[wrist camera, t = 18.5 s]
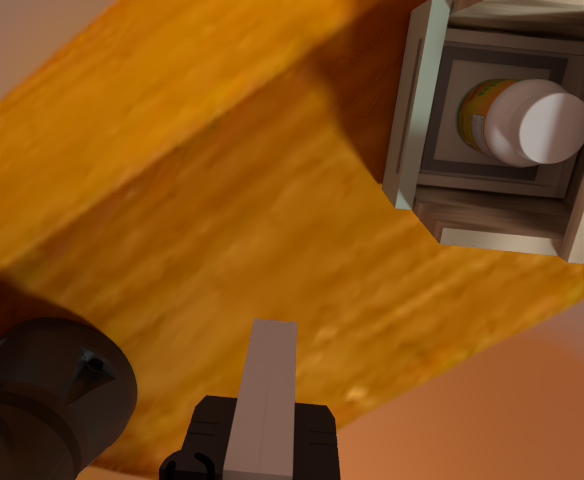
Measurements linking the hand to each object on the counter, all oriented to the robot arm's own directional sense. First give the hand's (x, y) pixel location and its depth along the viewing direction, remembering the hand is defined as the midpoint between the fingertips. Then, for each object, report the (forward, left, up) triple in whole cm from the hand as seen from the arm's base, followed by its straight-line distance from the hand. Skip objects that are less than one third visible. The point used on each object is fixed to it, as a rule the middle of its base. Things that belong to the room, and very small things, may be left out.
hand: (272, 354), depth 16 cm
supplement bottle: (+15, +8, -23) cm, 28 cm away
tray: (+15, +8, -24) cm, 29 cm away
